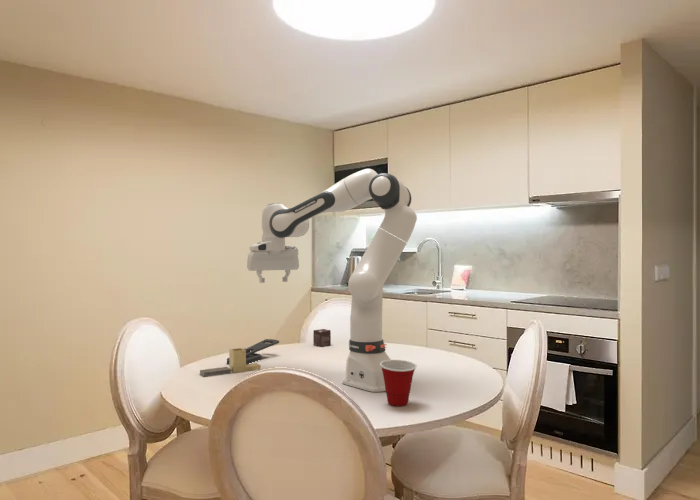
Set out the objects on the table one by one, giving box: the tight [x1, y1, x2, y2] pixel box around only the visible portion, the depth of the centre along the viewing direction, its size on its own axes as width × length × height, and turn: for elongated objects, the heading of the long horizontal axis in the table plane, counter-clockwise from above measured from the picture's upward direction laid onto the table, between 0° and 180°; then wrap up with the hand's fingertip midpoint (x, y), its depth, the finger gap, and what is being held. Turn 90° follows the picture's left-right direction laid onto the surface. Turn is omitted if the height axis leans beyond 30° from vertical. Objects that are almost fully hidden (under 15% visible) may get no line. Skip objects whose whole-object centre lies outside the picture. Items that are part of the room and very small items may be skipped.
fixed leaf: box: [199, 366, 232, 378], centre depth 195 cm, size 5×15×7 cm, turn 121°
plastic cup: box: [380, 359, 418, 407], centre depth 156 cm, size 11×11×12 cm
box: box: [312, 328, 332, 348], centre depth 249 cm, size 6×6×7 cm
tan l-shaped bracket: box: [228, 347, 262, 374], centre depth 200 cm, size 11×5×8 cm, turn 121°
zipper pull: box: [226, 338, 280, 365], centre depth 219 cm, size 9×7×25 cm
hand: (273, 282), depth 202 cm, fingers open, 8 cm apart
